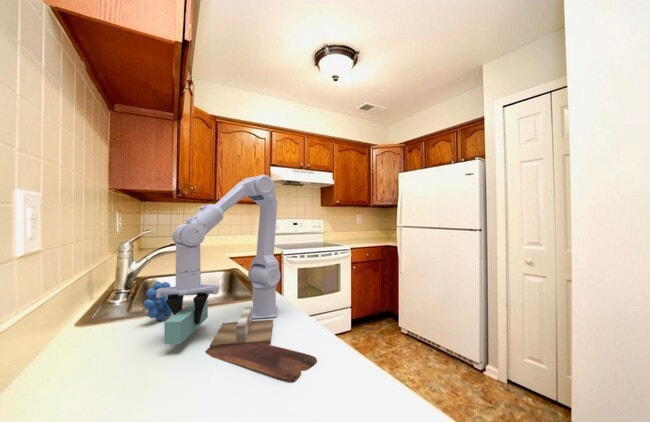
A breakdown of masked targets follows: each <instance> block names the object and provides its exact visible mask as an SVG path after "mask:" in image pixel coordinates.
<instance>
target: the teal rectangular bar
mask: <svg viewBox="0 0 650 422" xmlns="http://www.w3.org/2000/svg"><path fill="white" fill-rule="evenodd" d="M208 302H209V301H208V299H207V300H206V302H205V305H204V308H203V311H202V315H201V320H200V322H199V324H195V306H194V300H193V301H191V303H189V304H188V305H186V306H185V307H184V308H183V307H182V310H181V311H179V312H178V313H176V314H175V315H173V316H171V317H169V318H168V319H166V320H165V321H164V325H163V326H164V327H163V328H164V329H163V332H164V333H163V334H164V341H163V343H164V345H180V344H182V343H183V342H184V341H185V340H187V339H188V338H189V337H190V336H191V334H193V332H195V330H197V329H198V328H199V327H200V326H201V325H202V324H203V323H204V322H205V321H206V320H208V317H209V316H208V315H209V314H208V311H209V310H208V309H209V303H208Z"/></svg>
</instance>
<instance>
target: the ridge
mask: <svg viewBox="0 0 650 422" xmlns="http://www.w3.org/2000/svg"><path fill="white" fill-rule="evenodd" d="M252 311H253V306H248V307H247V306H246V307H244V308H243V310H242V311H241V314H240V317H239V318H238V319H239V320H238V321H233V322H230V321H229V322H222V324H221V326H220V327H219V329H218V331H217V332H216V334H215V336H214V337H213V339H212V341H211V342H210V344H209V348H210V349H211V348H217V347H223V346H230V345H239V344H251V343H262V344H267V345H271V344H272V343H271V342H272V334H273V326H274V325H273V324H274V320H273V319H264V320H263V319H262V320H253V319H252Z"/></svg>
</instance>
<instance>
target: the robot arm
mask: <svg viewBox="0 0 650 422" xmlns="http://www.w3.org/2000/svg"><path fill="white" fill-rule="evenodd" d="M275 190H276V183H275V181H273V179H272V178H271V177H270V176H269V175H267V174H260V175H257V176H252V177H245V178H243V179H242V180H241V181H239V182H237V184H235V186H234V187H232V188H231V189H230V190H229V191H228V192H227V193H226V194H224V195H223V197H221V198H220V199H219V200H218V201H217V202H216V203H215V204H211V203H210V204H207V205H201V206H200V207H199V209H200V210H199V211H198V212H196V213H195V214H194V215H192V216H191V217H187V218H186V219H185V222H186V223H182V224H179V225H177V226H176V228H174V230H173V232H172V234H171V239H172V241H173V243H175V286H171V287H167V288H159V289H157V290H156V298H160V297H164V296H168V299H167V300H166V303H167V305H168V306H169V307H170V309H171V311H172V315H173V316H174V315H175V314H176V313H178V312H179V311H181V310H182V309H183V306H184V297H185V296H194V297H193V301H194V306H195V324H199V322H200V320H201V315H202V311H203V308H204V305H205V302H206V300H208V298H209V295H217V294H219V292H220V289H219V288H220V286H219V284H214V285H213V284H202V283H201V281H202V278H201V244H202V243H203V242H204V240H205V236H206V235H207V234H208V233H209V232H211V230H212V229H214V228H215V227H216V226H217V225H218V224H219V223H221V222H222V221H223V220H224V214H225V212H227V211H228V210H229V209H231V208H232V207H233V206H234V205H236V204H237V203H238V202H239V201H241V200H242V199H244V198H246V197H247V198H248V199H250V200H252V201H253V202H255V204H257V205H258V207H259V218H258V228H257V229H258V230H257V242H256V243H257V245H256V254H255V256H254V258H252V260H251V265H250V267H249V269H248V272H247V276H248V280H249V281H250V282H251V286H252V320H253V319H254V320H255V319H266V318H267V319H268V318H277V317H278V309H279V308H278V306H277V291H276V289H277V286H278V284H279V282H280V280H281V271H280V267H279V266H280V265H279V263H280V262H279V261H278V260H277V259H276V257H275V256H274V255H275V242H276V241H275V240H276V227H277V216H278V215H277V213H278V199H277V196H276V193H275V192H276V191H275Z"/></svg>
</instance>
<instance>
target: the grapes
mask: <svg viewBox="0 0 650 422" xmlns="http://www.w3.org/2000/svg"><path fill="white" fill-rule="evenodd" d="M167 287H172V286H171V284H170V283H169V282H167V281H164V282H161V281H156V282H154V283H153V285H152V287H150V288H148V289H147V290H146V292H145V296H146V297H147V299H145V300H144V302H143V307H144V308H145V309H146V310H147V311H146V313H147V316H148V317H149V318H150V319H155V320H156V321H159V322H161V321H164V319H165V318H166V317H170V316H171V315H173V313H172V311H171V309H170V307H169V306H168V305H167V303H166V300H167V299H168V296H164V297H160V298H156V290H157V289H159V288H167Z"/></svg>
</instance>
